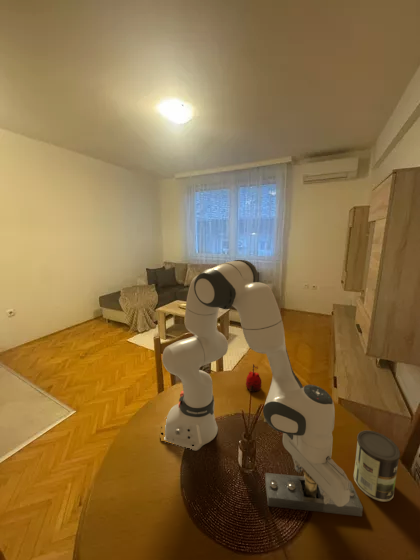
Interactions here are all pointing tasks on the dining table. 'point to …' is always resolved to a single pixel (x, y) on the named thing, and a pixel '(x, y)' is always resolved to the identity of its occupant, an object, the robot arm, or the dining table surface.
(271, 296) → the robot arm
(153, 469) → the dining table surface
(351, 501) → the grey peg board
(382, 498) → the coffee can
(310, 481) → the pin
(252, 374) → the red rounded piece
